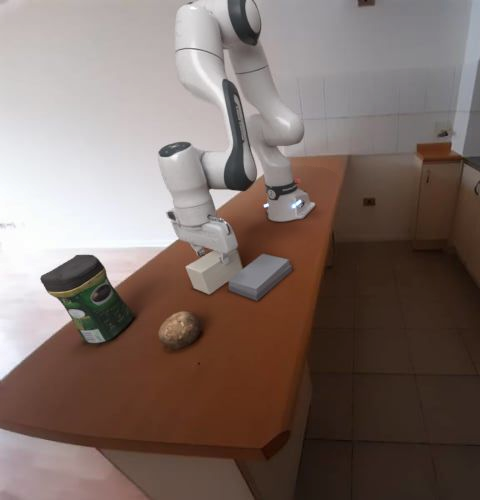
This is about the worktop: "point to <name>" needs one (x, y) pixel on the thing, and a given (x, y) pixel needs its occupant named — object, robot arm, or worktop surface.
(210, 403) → the worktop surface
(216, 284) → the white book
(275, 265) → the grey book
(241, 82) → the robot arm
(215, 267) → the cream flat block
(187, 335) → the brown oval lump
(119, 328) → the coffee jar
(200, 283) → the white book
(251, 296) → the grey book
